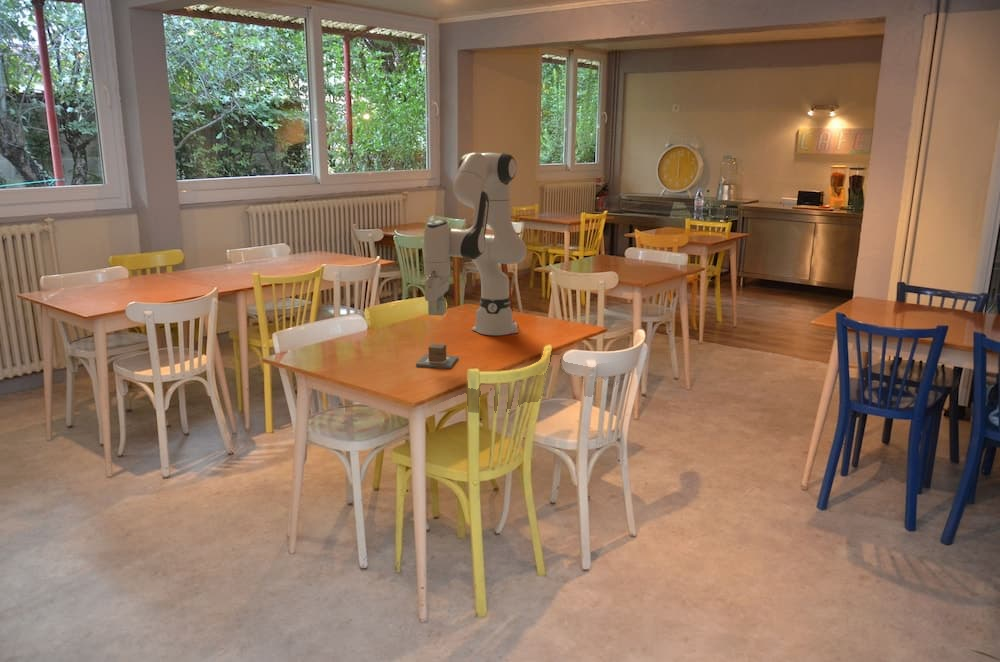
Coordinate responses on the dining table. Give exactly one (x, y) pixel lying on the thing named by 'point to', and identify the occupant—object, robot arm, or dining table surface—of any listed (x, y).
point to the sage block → (441, 307)
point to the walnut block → (437, 352)
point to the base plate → (445, 364)
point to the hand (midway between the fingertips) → (437, 309)
